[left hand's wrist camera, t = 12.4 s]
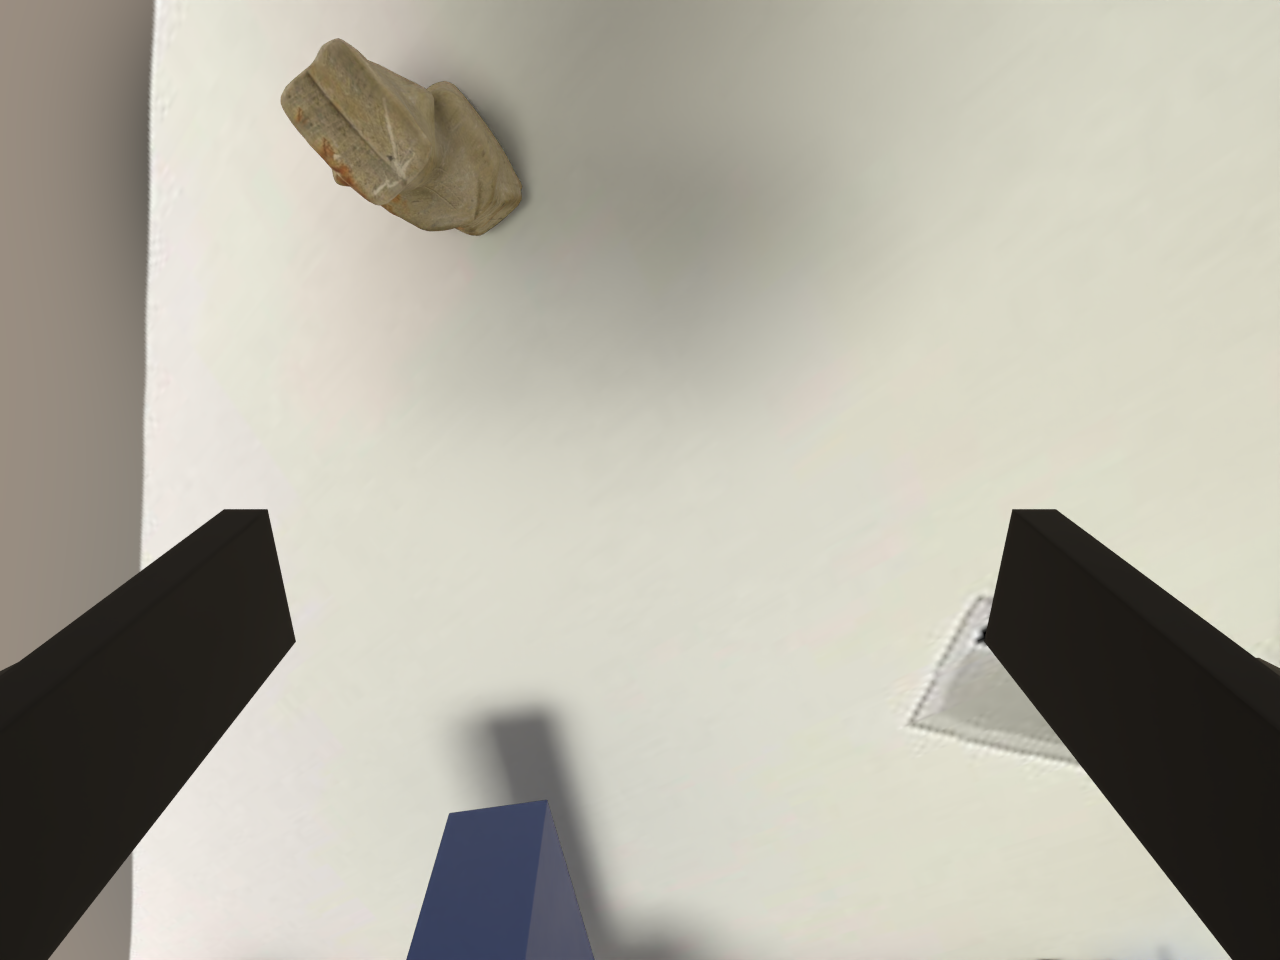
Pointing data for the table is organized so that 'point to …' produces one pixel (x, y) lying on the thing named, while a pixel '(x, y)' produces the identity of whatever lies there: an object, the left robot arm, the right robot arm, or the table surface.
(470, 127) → the sculpture
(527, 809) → the box
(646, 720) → the table surface
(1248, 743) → the left robot arm
